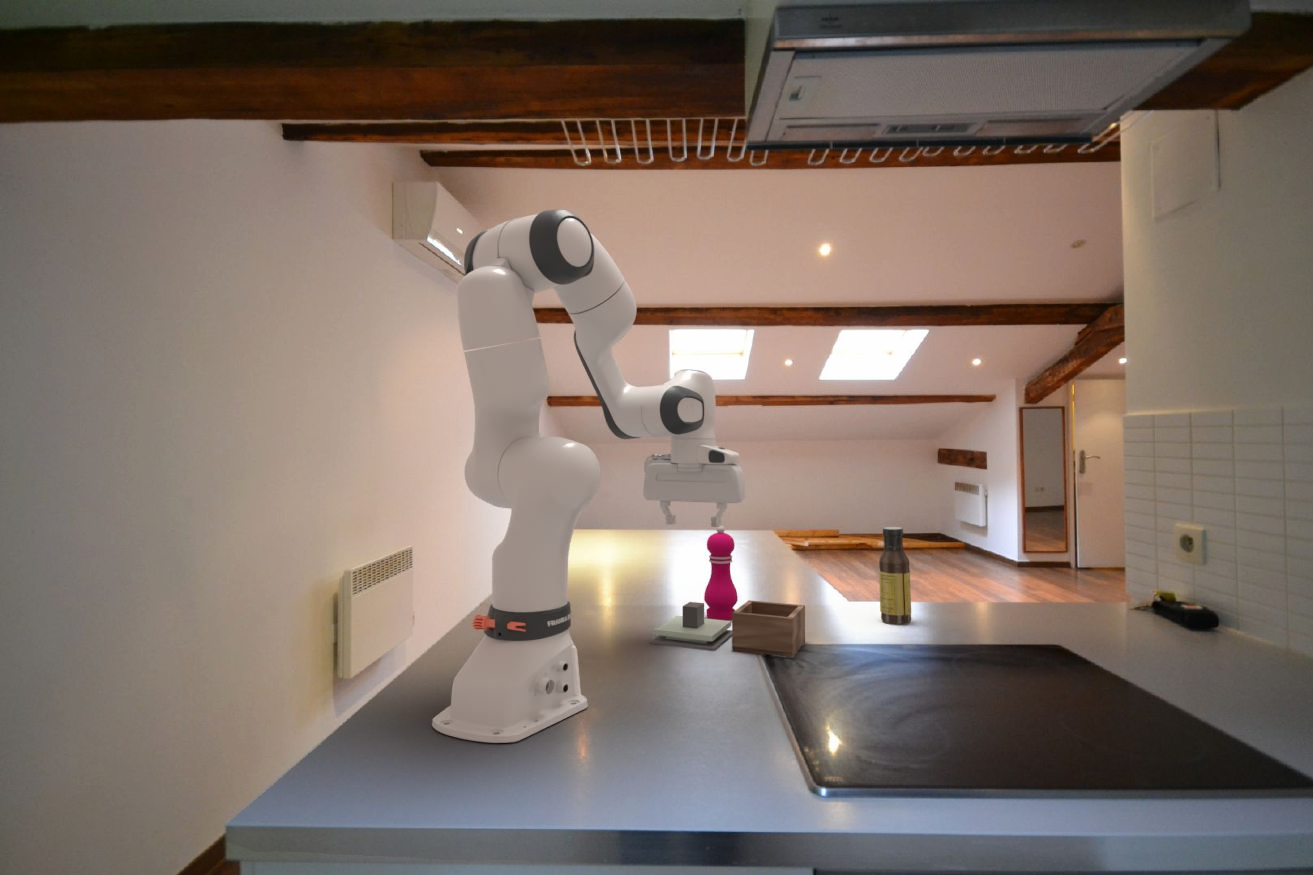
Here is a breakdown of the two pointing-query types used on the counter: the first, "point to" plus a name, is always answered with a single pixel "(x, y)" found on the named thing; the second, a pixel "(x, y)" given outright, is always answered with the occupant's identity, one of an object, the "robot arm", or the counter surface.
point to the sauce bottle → (894, 579)
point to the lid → (693, 625)
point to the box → (768, 628)
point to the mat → (695, 645)
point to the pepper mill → (720, 577)
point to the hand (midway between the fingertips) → (693, 525)
